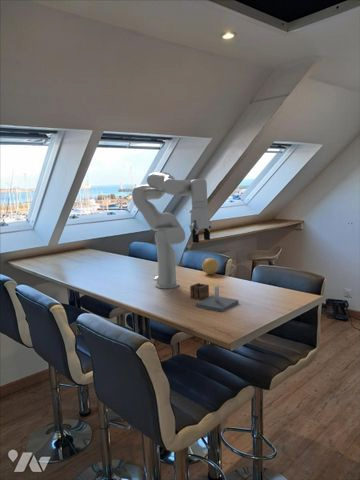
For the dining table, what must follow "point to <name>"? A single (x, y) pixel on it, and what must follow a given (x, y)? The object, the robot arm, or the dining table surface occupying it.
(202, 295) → the wooden block stack
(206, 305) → the stand
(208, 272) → the stress ball
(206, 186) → the robot arm
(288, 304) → the dining table surface
